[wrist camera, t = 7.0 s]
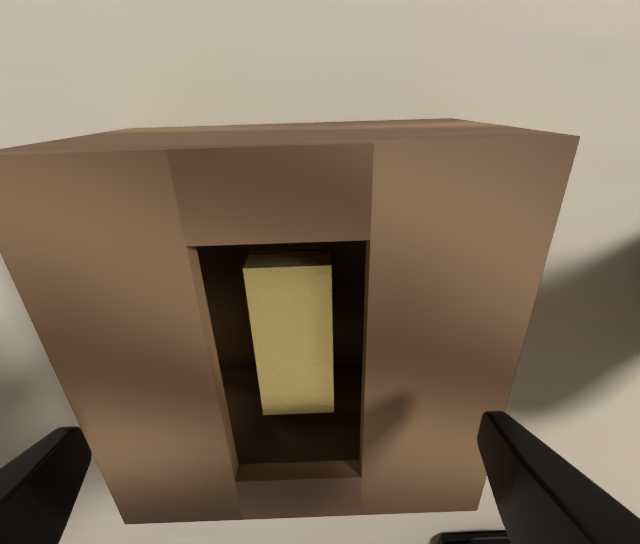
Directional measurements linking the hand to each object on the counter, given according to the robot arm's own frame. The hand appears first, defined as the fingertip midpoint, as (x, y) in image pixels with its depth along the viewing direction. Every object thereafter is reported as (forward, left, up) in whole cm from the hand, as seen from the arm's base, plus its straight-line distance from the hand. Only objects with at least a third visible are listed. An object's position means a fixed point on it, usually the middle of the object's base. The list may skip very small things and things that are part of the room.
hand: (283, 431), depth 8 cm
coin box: (0, 0, -9) cm, 9 cm away
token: (0, 0, -8) cm, 8 cm away
